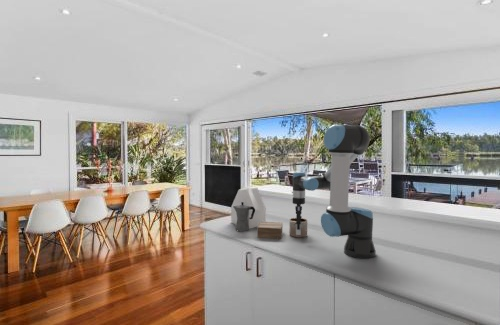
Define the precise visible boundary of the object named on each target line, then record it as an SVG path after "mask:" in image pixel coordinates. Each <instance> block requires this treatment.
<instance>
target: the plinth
mask: <svg viewBox="0 0 500 325" xmlns="http://www.w3.org/2000/svg"><path fill="white" fill-rule="evenodd" d="M282 236H283V222H280V221H279V222H275V221H266V222H260V224H259V226H257V238H260V239H261V238H265V239H278V240H279V239H282Z"/></svg>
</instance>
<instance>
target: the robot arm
mask: <svg viewBox="0 0 500 325" xmlns="http://www.w3.org/2000/svg"><path fill="white" fill-rule="evenodd" d="M370 139H371V137H370V133H369V131H368V130H367V129H366V128H365V127H364V126H361V125H358V124H355V125H354V124H332V125H330V126H329V127H328V128H327V129H326V131H325V133H324V136H323V145H324V147H325V148H326V149H328V154H330V156H331V158H330V159H331V160H330V161H331V162H330V164H331V165H330V167H329V168H328V169H327V170H326V172H325V173H324V175H319V176H316V175H315V176H306V173H305V172H304V171H293V173H292V191H291V194H292V204H293V205H295V206H294V207H295V208H294V209H295V214H296V216H295V218H296V222H295V224H296V235H301V218H303V216H302V210H303V206H302V205H304V204H305V203H306V191H316V190H326V189H327V190H329V205H327V207H325V208H326V210H325V212H324V213H322V215H321V216H320V225H321V228H322V230H323V232H324V233H325V235H327V236H329V237H332V238H334V237H336V238H337V237H344V236H347V238H346V240H345V241H346V242H345V243H344V247H343V252H344V254H345V255H347V256H350V257H353V258H358V259H372V258H374V257H376V255H377V254H376V248H375V244H374V242H373V228H374V226H373V225H374V218H373V217H374V215H373V212H372V210H370V209H366V208H363V207H357V206H349V188H350V166H351V164H352V163H354V161H355V160H356V159H357V157H358V156H362V155H363V154H364V152H365V151H366V150H367V149H368V146H369V144H370V141H371V140H370Z"/></svg>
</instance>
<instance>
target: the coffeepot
mask: <svg viewBox="0 0 500 325" xmlns="http://www.w3.org/2000/svg"><path fill="white" fill-rule="evenodd" d="M243 203H244V202H241V204H242V205H239V206H233V207H234V209H235V210H236V214H237V224H235V230H236V231H237V230H238V231H237V232H248V231H249V230H250V228H249V226H248V219H247V217H248V212H249V210H250V209H252V210H253V211H252V214H251V218H249V219H252V218H253V215H254V213H255V208H254V207H251V206H246V205H243Z"/></svg>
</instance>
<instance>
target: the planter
mask: <svg viewBox="0 0 500 325" xmlns="http://www.w3.org/2000/svg"><path fill="white" fill-rule="evenodd" d="M295 222H296V217H291V218H289V231H288V232H289V235H290V236H291V237H293V238H305V237H307V236H308V219H307V218H303V217H302V218H301V235H296V224H295Z"/></svg>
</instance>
